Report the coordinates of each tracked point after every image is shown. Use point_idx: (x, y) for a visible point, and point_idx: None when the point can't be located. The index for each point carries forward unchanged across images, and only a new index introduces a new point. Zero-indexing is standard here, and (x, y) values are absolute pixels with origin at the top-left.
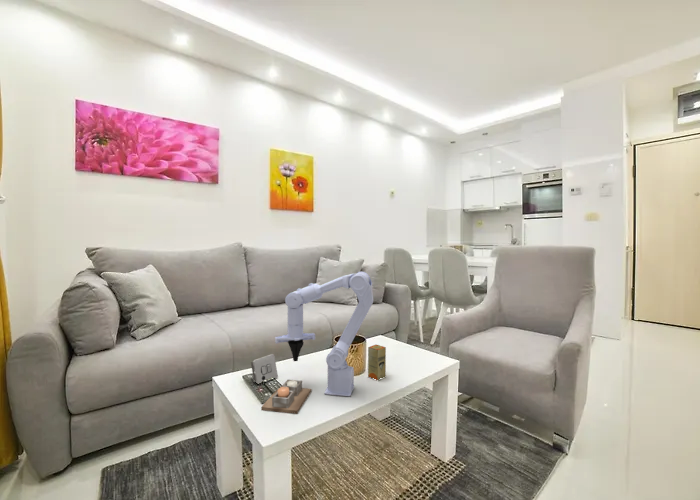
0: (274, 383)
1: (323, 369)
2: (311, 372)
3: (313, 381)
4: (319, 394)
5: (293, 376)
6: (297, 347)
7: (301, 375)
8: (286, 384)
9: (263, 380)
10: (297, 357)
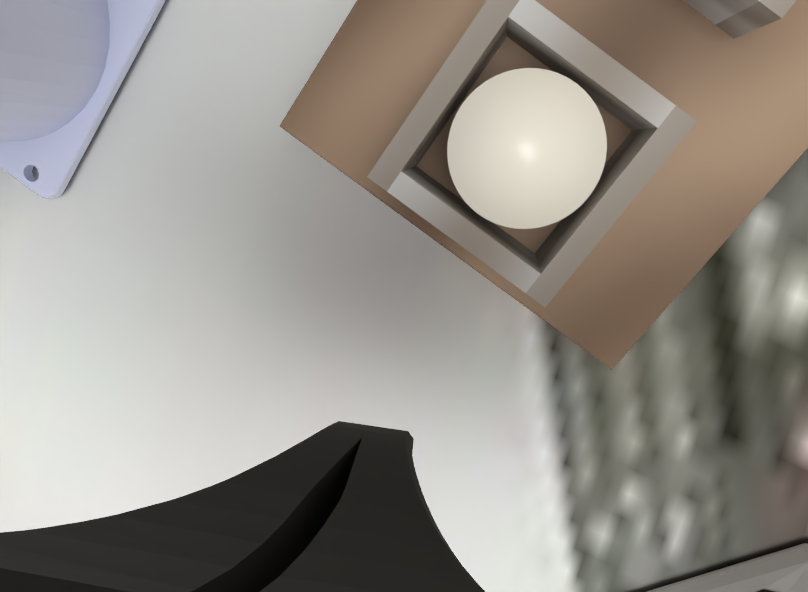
0: (624, 512)
1: None
2: None
3: (205, 358)
4: (225, 15)
5: None
6: (224, 558)
7: None
8: (594, 200)
9: (760, 586)
10: (321, 440)
